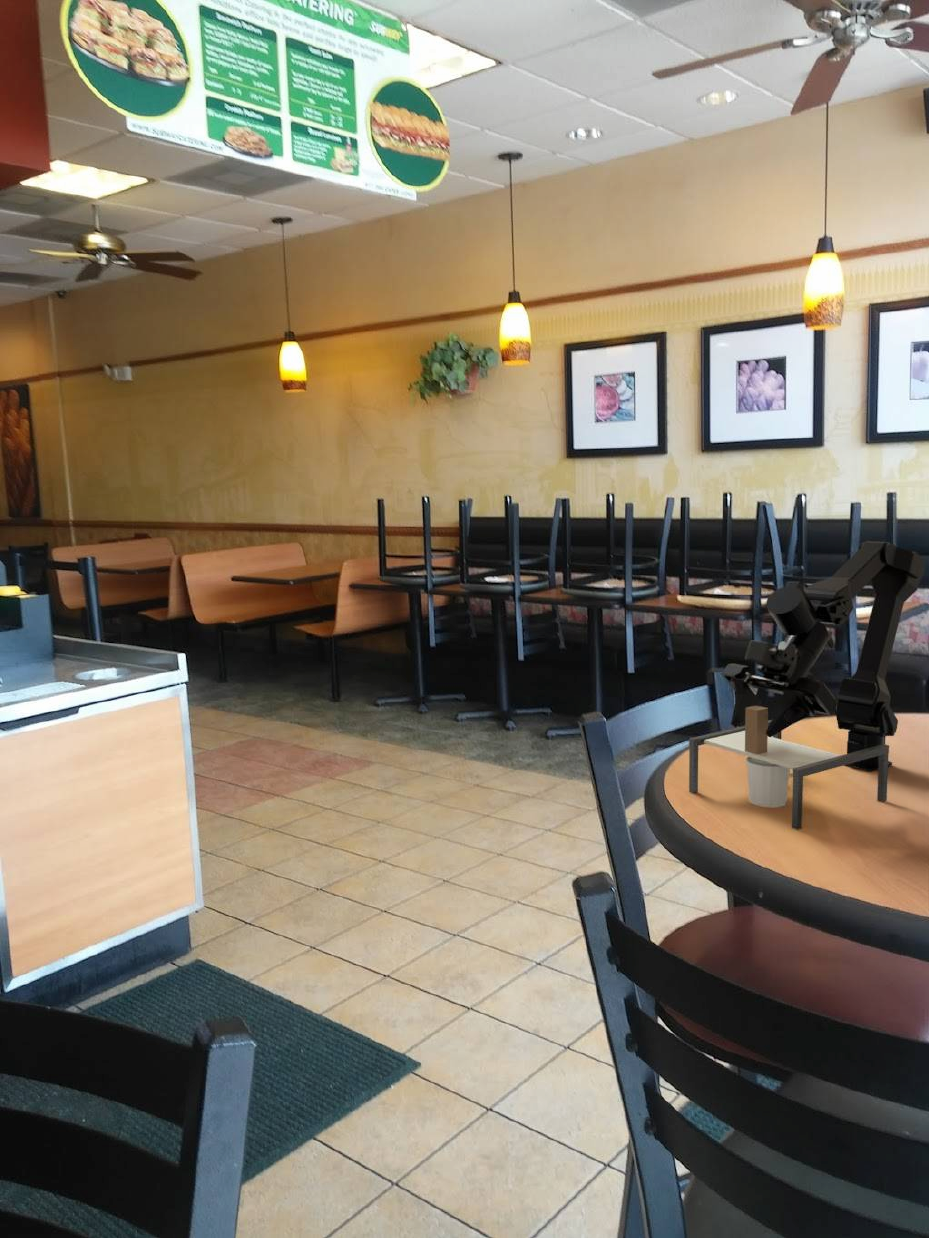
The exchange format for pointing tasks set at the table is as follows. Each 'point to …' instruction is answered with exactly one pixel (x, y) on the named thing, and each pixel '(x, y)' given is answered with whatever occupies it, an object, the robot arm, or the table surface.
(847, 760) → the cover frame
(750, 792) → the white cup
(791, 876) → the table surface
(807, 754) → the sliding cover
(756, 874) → the table surface
